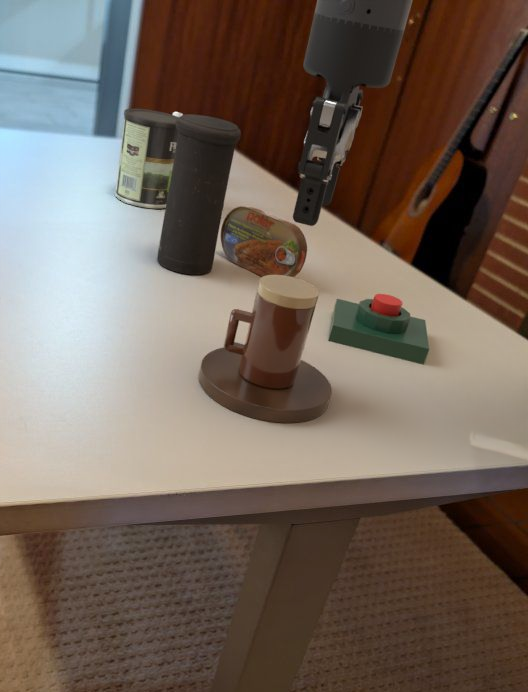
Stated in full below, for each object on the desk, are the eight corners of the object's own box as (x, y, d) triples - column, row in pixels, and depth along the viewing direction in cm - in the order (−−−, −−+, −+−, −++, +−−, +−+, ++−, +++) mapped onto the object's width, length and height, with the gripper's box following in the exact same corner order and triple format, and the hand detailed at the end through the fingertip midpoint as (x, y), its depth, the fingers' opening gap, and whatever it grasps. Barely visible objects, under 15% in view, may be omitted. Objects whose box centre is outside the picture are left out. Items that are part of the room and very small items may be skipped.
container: (207, 257, 113) (234, 115, 103) (219, 279, 106) (250, 129, 95) (151, 250, 111) (172, 105, 101) (159, 272, 104) (183, 119, 93)
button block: (419, 334, 101) (429, 307, 99) (423, 365, 93) (434, 335, 91) (332, 313, 102) (340, 285, 100) (328, 341, 94) (336, 311, 92)
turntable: (331, 376, 85) (335, 365, 85) (323, 436, 74) (327, 423, 73) (212, 346, 87) (214, 334, 86) (185, 400, 75) (188, 387, 74)
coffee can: (176, 199, 138) (190, 117, 130) (165, 213, 129) (179, 126, 121) (122, 187, 138) (132, 105, 131) (107, 200, 129) (117, 112, 122)
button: (397, 310, 97) (402, 298, 96) (398, 320, 94) (402, 307, 93) (370, 304, 97) (374, 291, 96) (370, 313, 94) (374, 300, 93)
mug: (297, 370, 81) (321, 283, 76) (291, 394, 76) (316, 303, 71) (225, 351, 82) (244, 264, 77) (214, 374, 77) (233, 283, 72)
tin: (214, 253, 115) (225, 198, 111) (229, 251, 117) (240, 197, 113) (287, 291, 107) (302, 232, 102) (301, 288, 109) (316, 231, 104)
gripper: (399, 27, 55) (341, 241, 64) (410, 25, 67) (359, 206, 76) (301, 7, 57) (256, 220, 65) (328, 8, 69) (287, 189, 77)
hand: (311, 212), depth 71 cm, fingers open, 8 cm apart
